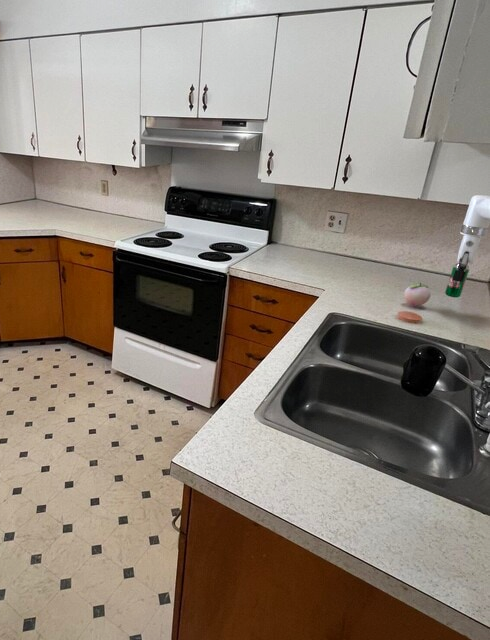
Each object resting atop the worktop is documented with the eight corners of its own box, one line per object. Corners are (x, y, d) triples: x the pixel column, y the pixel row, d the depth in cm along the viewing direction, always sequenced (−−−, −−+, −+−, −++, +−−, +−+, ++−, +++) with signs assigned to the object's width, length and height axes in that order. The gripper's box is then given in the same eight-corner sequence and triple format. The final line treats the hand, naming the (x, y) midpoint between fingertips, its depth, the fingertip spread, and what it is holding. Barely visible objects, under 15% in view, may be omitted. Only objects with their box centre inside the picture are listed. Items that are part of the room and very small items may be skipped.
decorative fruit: (416, 311, 164) (423, 287, 161) (397, 304, 171) (404, 280, 167) (431, 308, 168) (439, 285, 164) (412, 301, 175) (419, 278, 171)
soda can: (441, 294, 162) (451, 264, 157) (449, 292, 164) (459, 262, 160) (455, 298, 158) (465, 267, 153) (462, 297, 160) (473, 266, 156)
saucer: (422, 318, 158) (423, 315, 158) (419, 325, 152) (420, 321, 152) (398, 312, 163) (399, 309, 162) (395, 319, 157) (396, 315, 156)
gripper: (486, 236, 143) (468, 287, 150) (486, 229, 156) (470, 276, 163) (460, 232, 147) (444, 282, 154) (462, 225, 160) (447, 271, 167)
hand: (457, 278), depth 159 cm, fingers closed on soda can, 5 cm apart
